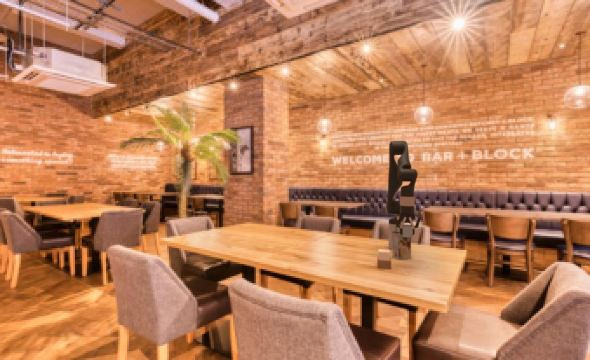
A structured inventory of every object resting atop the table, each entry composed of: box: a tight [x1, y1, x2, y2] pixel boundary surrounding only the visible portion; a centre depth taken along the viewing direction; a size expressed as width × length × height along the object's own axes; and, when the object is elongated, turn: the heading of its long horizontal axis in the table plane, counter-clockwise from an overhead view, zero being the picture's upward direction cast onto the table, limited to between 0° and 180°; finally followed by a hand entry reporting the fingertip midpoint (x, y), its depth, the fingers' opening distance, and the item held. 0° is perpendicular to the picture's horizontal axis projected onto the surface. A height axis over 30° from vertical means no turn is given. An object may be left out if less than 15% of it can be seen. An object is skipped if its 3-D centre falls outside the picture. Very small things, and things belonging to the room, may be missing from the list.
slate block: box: [402, 224, 414, 238], centre depth 163 cm, size 5×5×6 cm
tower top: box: [377, 248, 391, 261], centre depth 163 cm, size 6×6×4 cm
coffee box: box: [391, 231, 412, 261], centre depth 180 cm, size 9×6×16 cm
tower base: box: [376, 256, 392, 270], centre depth 163 cm, size 7×7×4 cm
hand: (407, 235), depth 163 cm, fingers closed on slate block, 5 cm apart
